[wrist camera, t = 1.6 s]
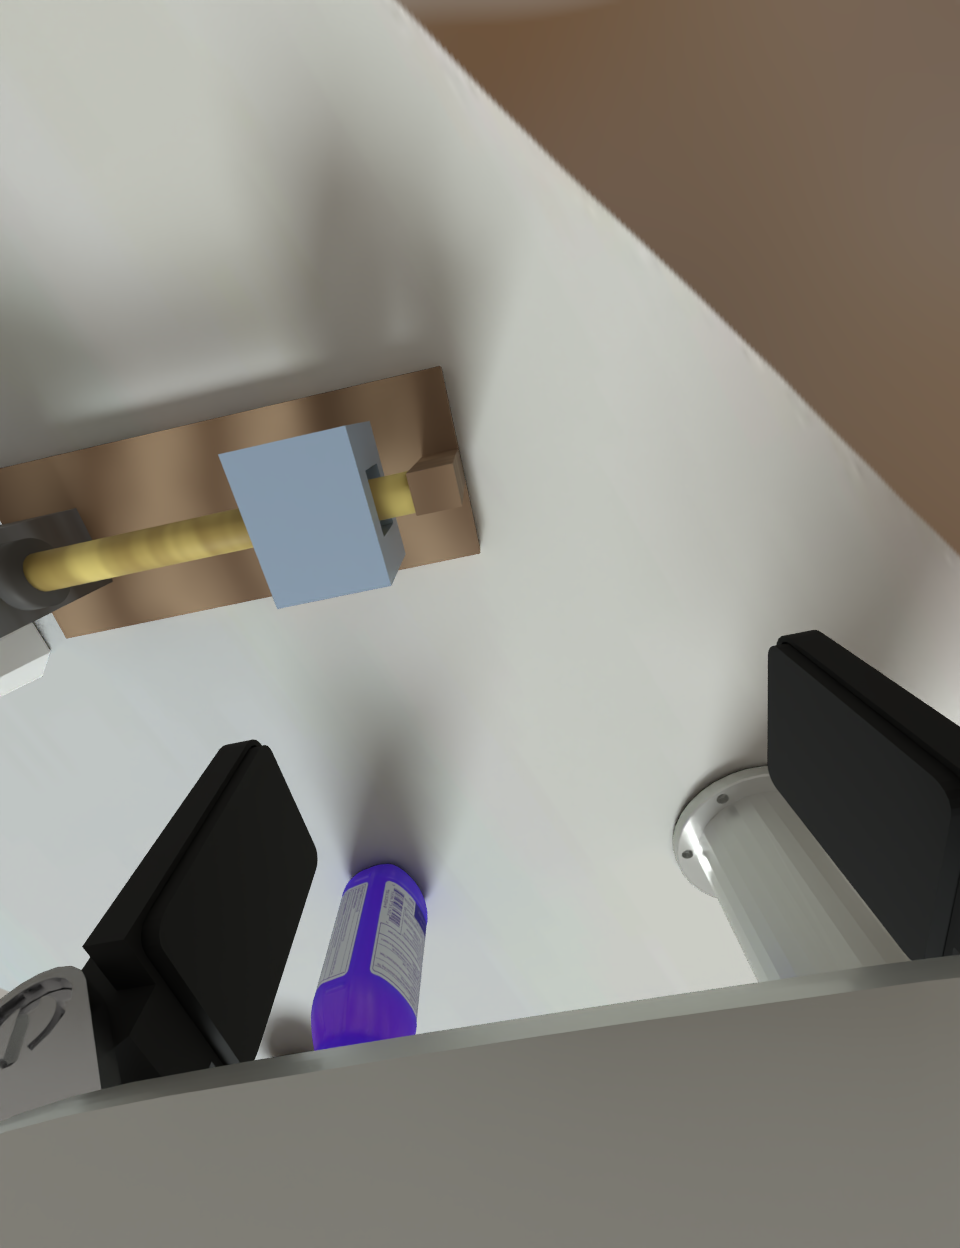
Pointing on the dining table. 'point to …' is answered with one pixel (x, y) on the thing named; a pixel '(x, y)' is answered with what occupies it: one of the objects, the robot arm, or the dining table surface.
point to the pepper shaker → (22, 658)
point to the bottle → (372, 962)
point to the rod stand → (210, 508)
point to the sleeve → (316, 514)
